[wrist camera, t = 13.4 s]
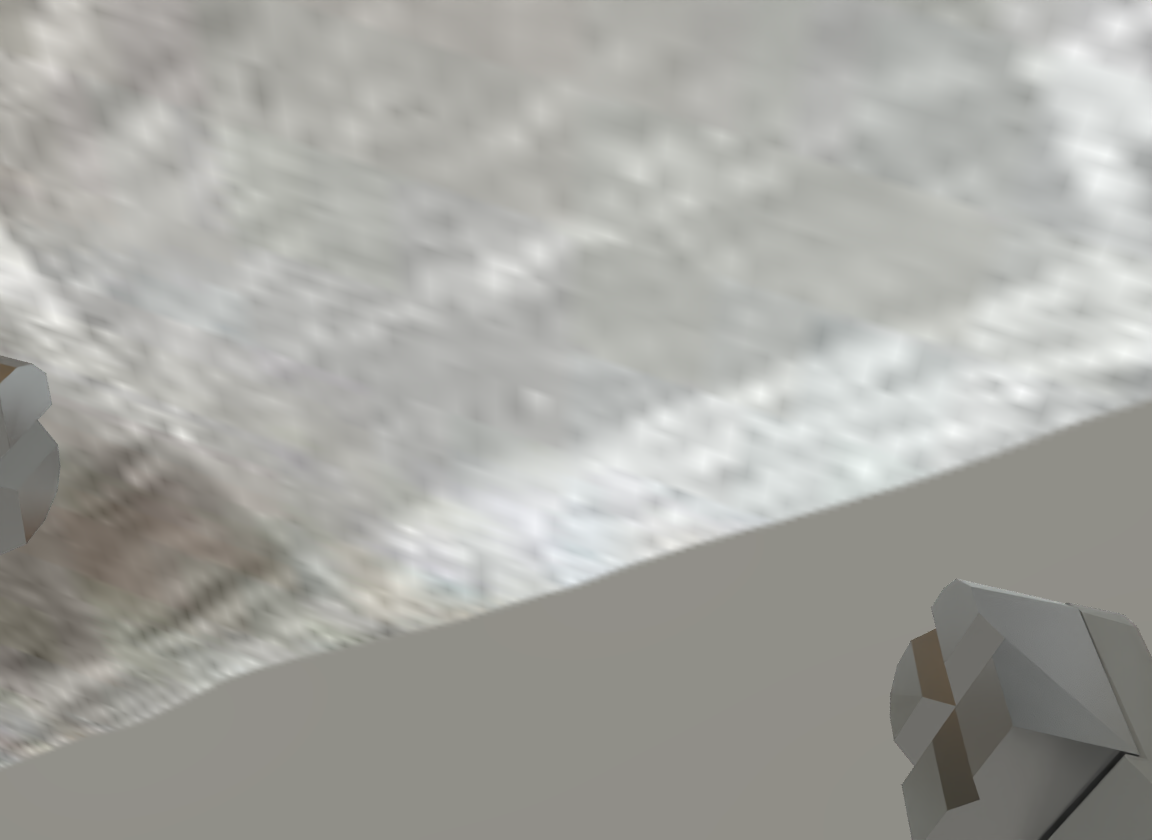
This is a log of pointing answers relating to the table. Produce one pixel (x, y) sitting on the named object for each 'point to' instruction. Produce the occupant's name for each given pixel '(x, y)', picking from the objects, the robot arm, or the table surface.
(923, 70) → the table surface
